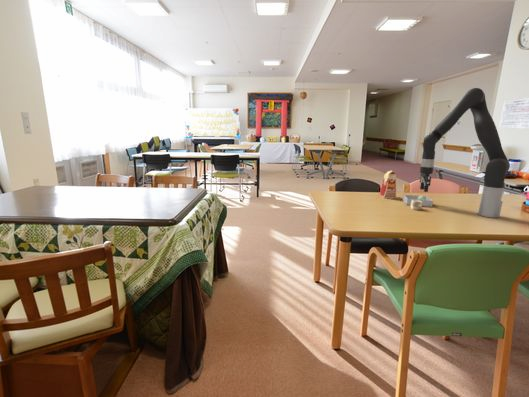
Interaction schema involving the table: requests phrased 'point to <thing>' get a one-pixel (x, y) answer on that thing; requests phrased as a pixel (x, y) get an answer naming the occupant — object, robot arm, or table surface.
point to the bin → (408, 198)
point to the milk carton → (389, 185)
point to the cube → (416, 204)
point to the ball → (421, 198)
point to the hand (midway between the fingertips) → (423, 190)
